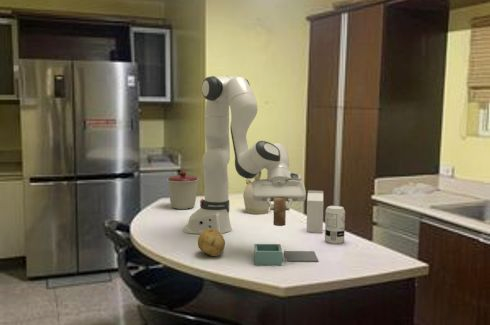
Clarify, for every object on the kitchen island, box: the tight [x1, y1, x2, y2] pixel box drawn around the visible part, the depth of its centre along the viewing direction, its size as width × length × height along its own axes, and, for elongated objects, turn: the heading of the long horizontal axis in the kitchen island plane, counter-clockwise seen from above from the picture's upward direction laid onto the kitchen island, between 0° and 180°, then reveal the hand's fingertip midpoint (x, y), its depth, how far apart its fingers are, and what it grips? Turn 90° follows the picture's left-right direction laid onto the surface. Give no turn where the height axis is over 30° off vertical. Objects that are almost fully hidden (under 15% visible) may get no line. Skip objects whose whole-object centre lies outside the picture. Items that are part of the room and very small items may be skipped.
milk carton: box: [306, 190, 324, 234], centre depth 226 cm, size 7×7×19 cm
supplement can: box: [324, 205, 346, 245], centre depth 208 cm, size 8×8×15 cm
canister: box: [166, 170, 200, 210], centre depth 275 cm, size 18×18×21 cm
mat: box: [283, 250, 319, 263], centre depth 187 cm, size 12×12×1 cm
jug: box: [242, 170, 270, 215], centre depth 265 cm, size 15×16×25 cm
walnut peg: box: [272, 197, 287, 227], centre depth 182 cm, size 4×4×10 cm
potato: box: [197, 229, 226, 257], centre depth 189 cm, size 10×12×10 cm
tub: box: [253, 243, 283, 266], centre depth 182 cm, size 10×10×5 cm
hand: (279, 209), depth 181 cm, fingers closed on walnut peg, 4 cm apart
